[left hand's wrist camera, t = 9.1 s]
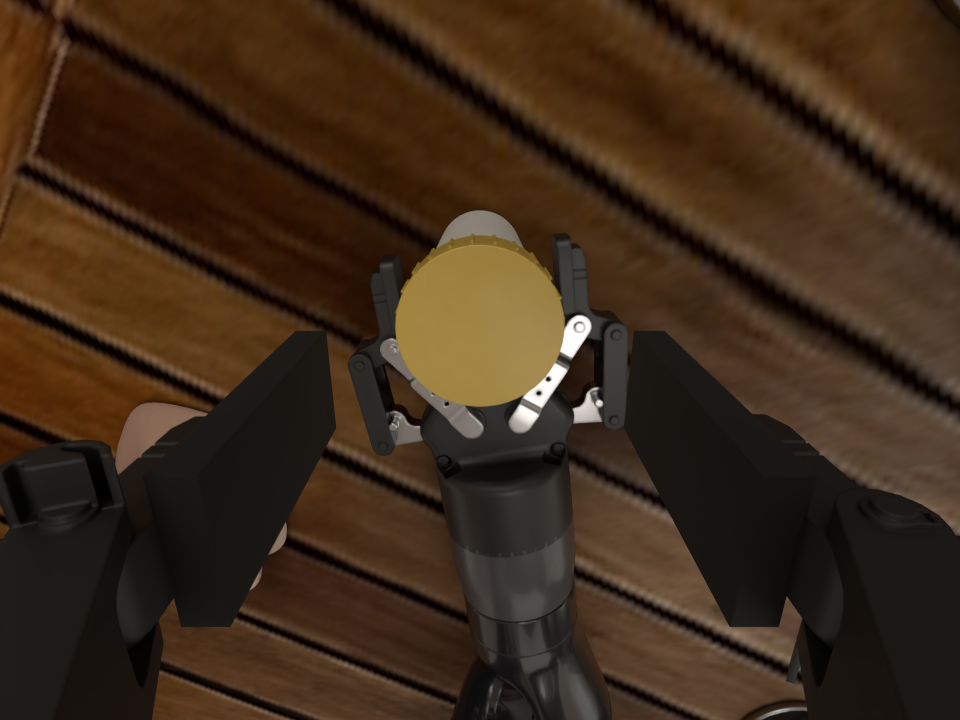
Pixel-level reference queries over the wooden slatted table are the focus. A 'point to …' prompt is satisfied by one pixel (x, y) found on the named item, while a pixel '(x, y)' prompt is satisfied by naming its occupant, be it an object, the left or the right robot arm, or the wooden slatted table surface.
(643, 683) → the wooden slatted table surface
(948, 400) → the wooden slatted table surface
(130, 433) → the anatomical model
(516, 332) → the lid
